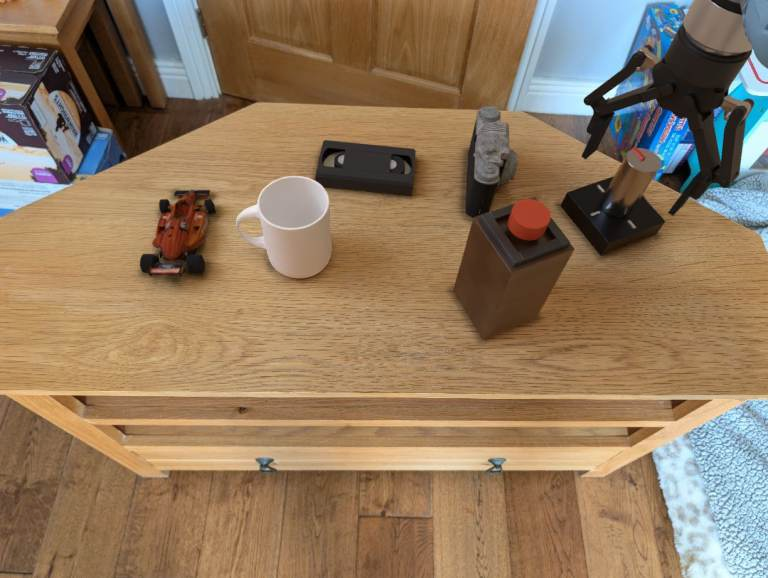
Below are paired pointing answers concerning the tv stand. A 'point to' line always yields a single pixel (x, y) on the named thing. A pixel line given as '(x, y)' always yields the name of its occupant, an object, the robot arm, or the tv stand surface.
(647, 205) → the dial panel
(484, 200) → the camera
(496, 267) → the pillar
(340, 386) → the tv stand surface
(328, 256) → the mug
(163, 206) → the toy car
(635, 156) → the dial
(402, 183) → the vhs tape
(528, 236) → the press knob
